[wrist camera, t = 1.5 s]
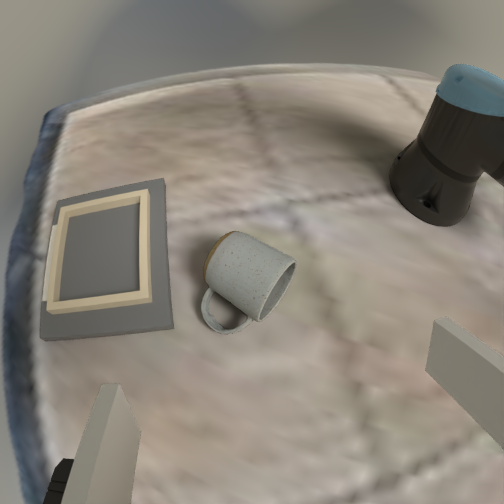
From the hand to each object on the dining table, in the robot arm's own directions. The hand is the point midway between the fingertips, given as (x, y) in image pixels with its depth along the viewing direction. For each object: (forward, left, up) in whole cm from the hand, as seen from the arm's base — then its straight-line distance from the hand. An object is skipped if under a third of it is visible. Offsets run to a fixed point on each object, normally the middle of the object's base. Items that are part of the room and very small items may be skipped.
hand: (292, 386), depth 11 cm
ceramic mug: (0, -13, -23) cm, 26 cm away
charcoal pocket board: (+17, -21, -22) cm, 36 cm away
